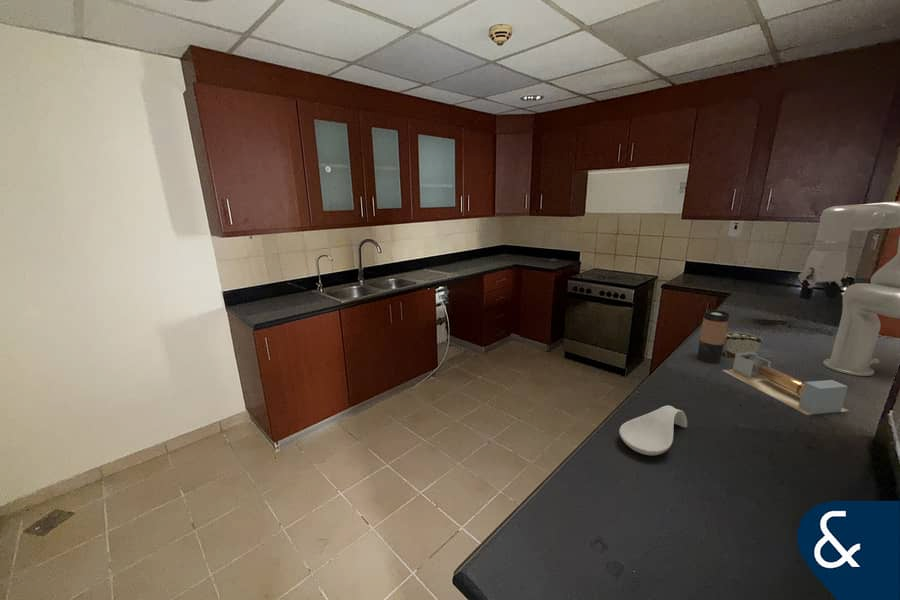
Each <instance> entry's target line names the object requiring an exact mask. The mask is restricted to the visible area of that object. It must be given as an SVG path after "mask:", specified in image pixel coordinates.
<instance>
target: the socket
mask: <svg viewBox="0 0 900 600" xmlns="http://www.w3.org/2000/svg"><path fill="white" fill-rule="evenodd" d="M848 387H849V386H848V385H845V384H843V383H841V382H838V381H835V380H834V379H829V380H816V381H815V380H813V381H804V387H803V391H802V395H801V399H800V403H799V407H800V408H802V409H804V410H806V411H808V412H810V413H812V414H811V415H819V413H821V414H830V412H832V413H838V412H839V413H840V412H841V409H842V407H843V404H844V401H845V400H846V399H845V398H846V394H847V391H848Z"/></svg>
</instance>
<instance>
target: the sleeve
mask: <svg viewBox="0 0 900 600" xmlns="http://www.w3.org/2000/svg"><path fill="white" fill-rule="evenodd" d="M744 357H749V359H746V358H744ZM771 364H772V361H770V360H768V359H765V358H763V357H761V356H759V353H755V352H741V353H736V355H735V358H734V360H733V365H732V366H733V367H732V369H733V371H734V372H736V373H738V374H740V375H742V376H744V377H746V378H748V379H750V380H754V379H765V378H763V377H761V376H759V374H758V371H759V369H760V368H761V367H762V366H768V367H770V368H771Z"/></svg>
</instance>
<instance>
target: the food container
mask: <svg viewBox="0 0 900 600" xmlns="http://www.w3.org/2000/svg"><path fill="white" fill-rule="evenodd" d="M761 344H764V339H763V337H761V336H759V335H756V334H753V333H749V332H744V331H729V332H726V336H725V342H724V346H725V347H724V357H725V358H732V359H735V355H736V353H741V352H755V353H757V354H759V353H758V352H759V350H760V346H761ZM744 358H746V359H749V357H744Z"/></svg>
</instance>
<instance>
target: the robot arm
mask: <svg viewBox="0 0 900 600" xmlns="http://www.w3.org/2000/svg"><path fill="white" fill-rule="evenodd" d="M895 228H896V229H897V228H900V200H899V201H898V200H897V201H884V202H874V203H864V204H863V203H861V204H847V205H833V206H830V207H828V208H825V209H824V210H823V211H822V213H821V215H820V217H819V225H818V228H817V233H816V239H815V241H814V246H813V250H811V251H810V253H809V255H808V258H807V259H806V262H805V265H804V267H803V271H802V272H801V273H799V274H798V276H797V277H798V283H800V287H801V289H800V294H799V299H803V300H805V301H811V300H812V297H813V292H814V286H815V285H816V284H817V283H829V284H827V286H826V287H827V288H826V291H825V294H824V295H825V297H826V298H830V299H837V298H838V297H839V294H840V293H839V292H840V289H841V287H842V286H843V283H844V282H846V279H847V278H848V276H849V275H850V272H848V271H847V270H845V269H846V264H847V256H848V255H847V253H848V252H847V251H848V248H849V243H850V240H851V236H852V232H853V231H861V232H865V231H872V230H874V229H895ZM897 245H898V246H897V252H896V255H895V256H893V258H892V259H890V260H889V261H888V262H887V263H885V264H884V265H882V267H880V268H879V269H878V270H877V271H876V272H875V273H873V274H872V276H870V277H871V278H870V279H869V280H870V281H869V282H870V283H867V282H864V283H863V282H862V283H861V282H860V283H859V282H858V283H853V284H850V285H849V286H847V287H846V288H845V290H844V291H843V293H842V311H841V312H842V313H841V317H840V322H839V325H838V329H837V333H836V337H835V340H834V344H833V348H832V351H831V355H830V358H826V359H824V360H823V361H822V362H823V363H822V364H823V365H824V366H825V367H826V368H829V369H831V370H833V371H836V372H840V373H842V374H847V375H851V376H859V377H869V376H873V375H874V374H875V370H874V369H873V368H872V367H871V365H877V364H879V363H880V360H879V359H877V358H872V357H873V352H874V350H875V346H876V343H877V339H878V336H879V333H880V330H881V320H880V319H879V316H878V315H881V316H884V317H889V318H894V319H900V235H899V237H898V244H897Z"/></svg>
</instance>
